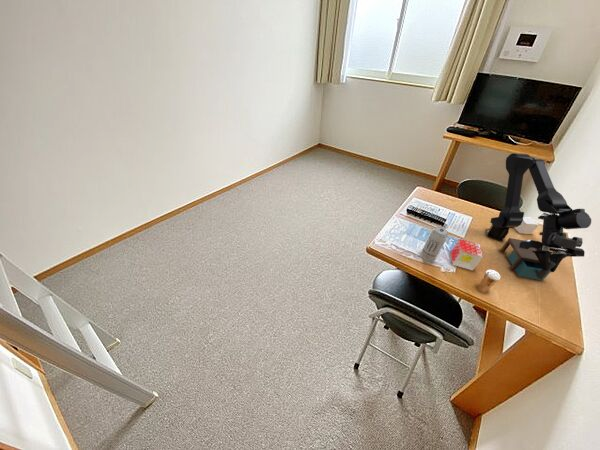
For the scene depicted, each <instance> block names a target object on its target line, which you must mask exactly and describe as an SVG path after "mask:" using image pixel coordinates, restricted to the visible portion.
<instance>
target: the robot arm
mask: <svg viewBox="0 0 600 450" xmlns="http://www.w3.org/2000/svg"><path fill="white" fill-rule="evenodd" d="M505 170H506V171H507V174H508V180H507V187H506V193H505V203H504V207H503V208H501V210H500V212H499V213H498V216H495V217H491V219H490V221H489V222H490V224H491V225H490V227H489V228H487V229H486V236H487V238H492V239H494V240H497V241H500V242H503V240H505V239H506V237H507V236H508V234H509V233H510V229H515V227H518V226H519V225H521V223H522V221H523V217H525V212H524V211H521V209H520V201H521V195H522V187H523V180H524V175H525V174H526V173H527V171H529V173H530V176H531V179H532V181H533V184H534V186H535V189H536V192H537V198H536V203H537V209H538V210H539V211H540V212H543V213H542V214H541V215H539V216H538V217H537V219H538V220H543V222H542V231H540V232H539V234H538V235H539V236H541V240H540V241H539V240H533V239H526V240H524V241H521V243H520V246H519V248H524V249H529V248H530V247H531V248H535V251H532V252H534V253H535V255H536V256H537V258H538V260H539V261H540V263H541V266H542V268H543V270H544V271H547V270H548V264H549V261H553V262H555V263H556V265H555V266H554V267H553V268H552V269H551V270H550V271H551V272H550V273H555V271H556V270H557V268H558V267H559V265H560V263H561V262H562V261H563V259H565V258H568V257H571V258H572V257H573V258H577V257H579V258H582V257H583V258H584V257H585V250H584V249H583V248H581V247H582V245H583V238H582V237H578V236H573V237H568V236H567V233H565V232H564V230H578V229H579V230H580V229H588V228H589V227H590V226H591V224H592V218H591V216H590V215H589V214H588V213H587V212H586V209H585V208H575V209H573V208H572V207H571V206H570V205H568V203H567V200H566V199H565V197H564V196H563V195H562V193H560V192H559V191H558V190H557V189H556V188H555V186H554V184H553V181H552V179H551V177H550V174H549V172H548V169H547V167H546V161H545V160H544V159H542V158H537V157H533V156H531V155H530V154H528V153H515V152H513V153H510V154H509V155H508V156H507V157H506V159H505Z"/></svg>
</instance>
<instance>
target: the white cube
mask: <svg viewBox="0 0 600 450" xmlns="http://www.w3.org/2000/svg"><path fill="white" fill-rule="evenodd" d="M539 225H540V224H539V223H538V222H537V221H536V220H535V219H534V218H533V217H531V216H523V221H522V223H521V225H519V226H518V227H515V228H514V229H515V230H516V231H517V233H518V234H522V235H523V234H524V235H533V233H534V232H535V231H536V229H537V228H538V227H539Z"/></svg>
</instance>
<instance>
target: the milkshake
mask: <svg viewBox="0 0 600 450" xmlns="http://www.w3.org/2000/svg"><path fill="white" fill-rule="evenodd" d="M500 280H501V275H500V273H499V272H498V271H496V270H494V269H488V270H486V272H485V273H484V275H483V277H482V279H481V281H480V282H479V284H478V285H477V289H478V291H480V292H481V293H487V292H488V291H489V290H491V288H492V287H493V286H494V285H495V284H497V283H498V281H500Z"/></svg>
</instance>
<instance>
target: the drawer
mask: <svg viewBox="0 0 600 450" xmlns="http://www.w3.org/2000/svg"><path fill="white" fill-rule="evenodd" d="M507 259H508V261H509V263H510V265H511V266H512V265H513V264H514V263H515V261H516V260H517V259H518V256H517V255H516V253H515V252H514V250H513V249H512V250H511V251H510V253H509V254H508V255H507ZM555 265H556V263H555V262H553V261H549V264H548V270H547V271H544V270H543V268H542V266H541V263H535V262H529V261H524V260H523V261H522V262H521V263H520V264H519V265H518V267H517V268H516V269H515V270H514V271H515V273H516V275H517V276H518V277H520V278H527V279H531V280H537V281H544V279H546V278H547V277H548V276H549V275H550V273H552V272H551V271H550V270H551V269H552V268H553V267H554V266H555Z"/></svg>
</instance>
